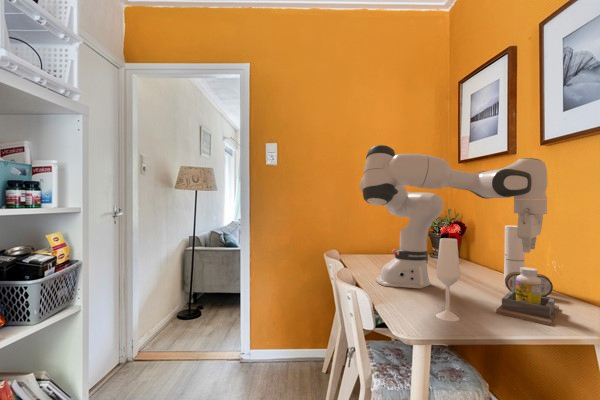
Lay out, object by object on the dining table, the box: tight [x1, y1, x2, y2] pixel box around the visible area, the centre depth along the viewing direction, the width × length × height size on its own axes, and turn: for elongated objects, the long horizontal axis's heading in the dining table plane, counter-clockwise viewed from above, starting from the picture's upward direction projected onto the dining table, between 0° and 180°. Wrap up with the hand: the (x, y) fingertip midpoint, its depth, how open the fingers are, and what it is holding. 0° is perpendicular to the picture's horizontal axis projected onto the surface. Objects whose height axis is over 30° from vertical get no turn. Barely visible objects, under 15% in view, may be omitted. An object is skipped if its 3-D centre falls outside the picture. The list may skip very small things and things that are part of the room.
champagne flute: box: [435, 237, 461, 322], centre depth 99 cm, size 7×7×24 cm
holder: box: [495, 290, 560, 326], centre depth 105 cm, size 20×14×4 cm
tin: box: [504, 272, 554, 297], centre depth 122 cm, size 15×3×8 cm, turn 65°
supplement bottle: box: [516, 266, 541, 305], centre depth 105 cm, size 7×7×13 cm
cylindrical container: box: [503, 224, 526, 285], centre depth 137 cm, size 7×7×25 cm
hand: (529, 250), depth 105 cm, fingers open, 8 cm apart
